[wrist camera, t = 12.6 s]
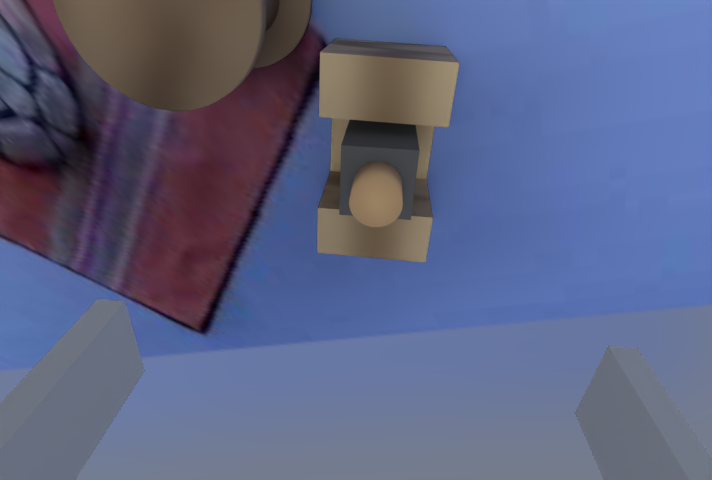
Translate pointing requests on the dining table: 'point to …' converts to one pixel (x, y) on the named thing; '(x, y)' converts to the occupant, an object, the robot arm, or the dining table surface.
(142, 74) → the bobbin
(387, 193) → the gray block with knob
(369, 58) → the wooden u-shaped block
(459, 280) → the dining table surface
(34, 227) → the dining table surface
